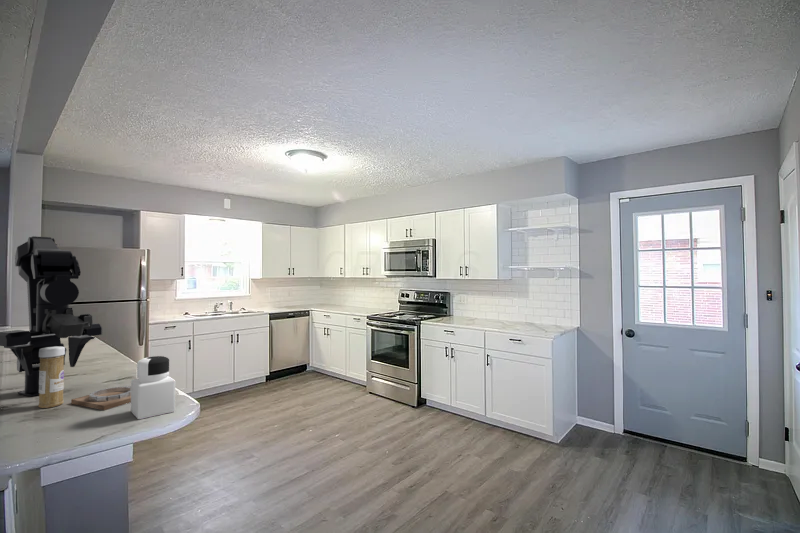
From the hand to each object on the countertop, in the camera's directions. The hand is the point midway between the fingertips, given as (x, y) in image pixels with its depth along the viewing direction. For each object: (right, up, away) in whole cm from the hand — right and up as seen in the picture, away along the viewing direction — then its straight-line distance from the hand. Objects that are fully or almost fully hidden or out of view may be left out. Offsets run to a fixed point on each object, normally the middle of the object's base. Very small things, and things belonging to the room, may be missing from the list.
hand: (51, 370), depth 92 cm
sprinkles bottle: (0, -8, 0) cm, 8 cm away
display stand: (+11, -8, +4) cm, 14 cm away
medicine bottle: (+26, -8, -4) cm, 28 cm away
